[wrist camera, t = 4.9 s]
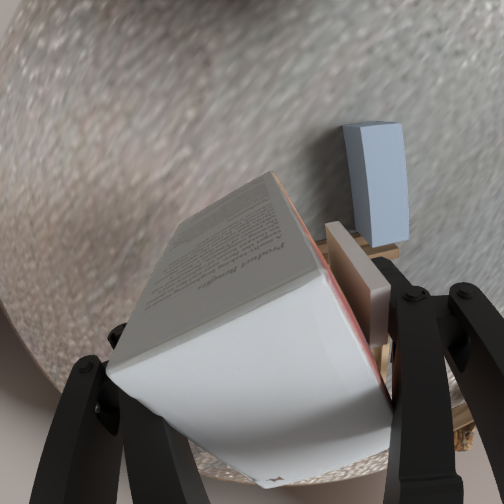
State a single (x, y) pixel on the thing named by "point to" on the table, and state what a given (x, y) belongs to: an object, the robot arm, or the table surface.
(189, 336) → the small box
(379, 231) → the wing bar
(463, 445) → the lion figurine
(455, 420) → the open wooden box
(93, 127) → the table surface
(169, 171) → the table surface
